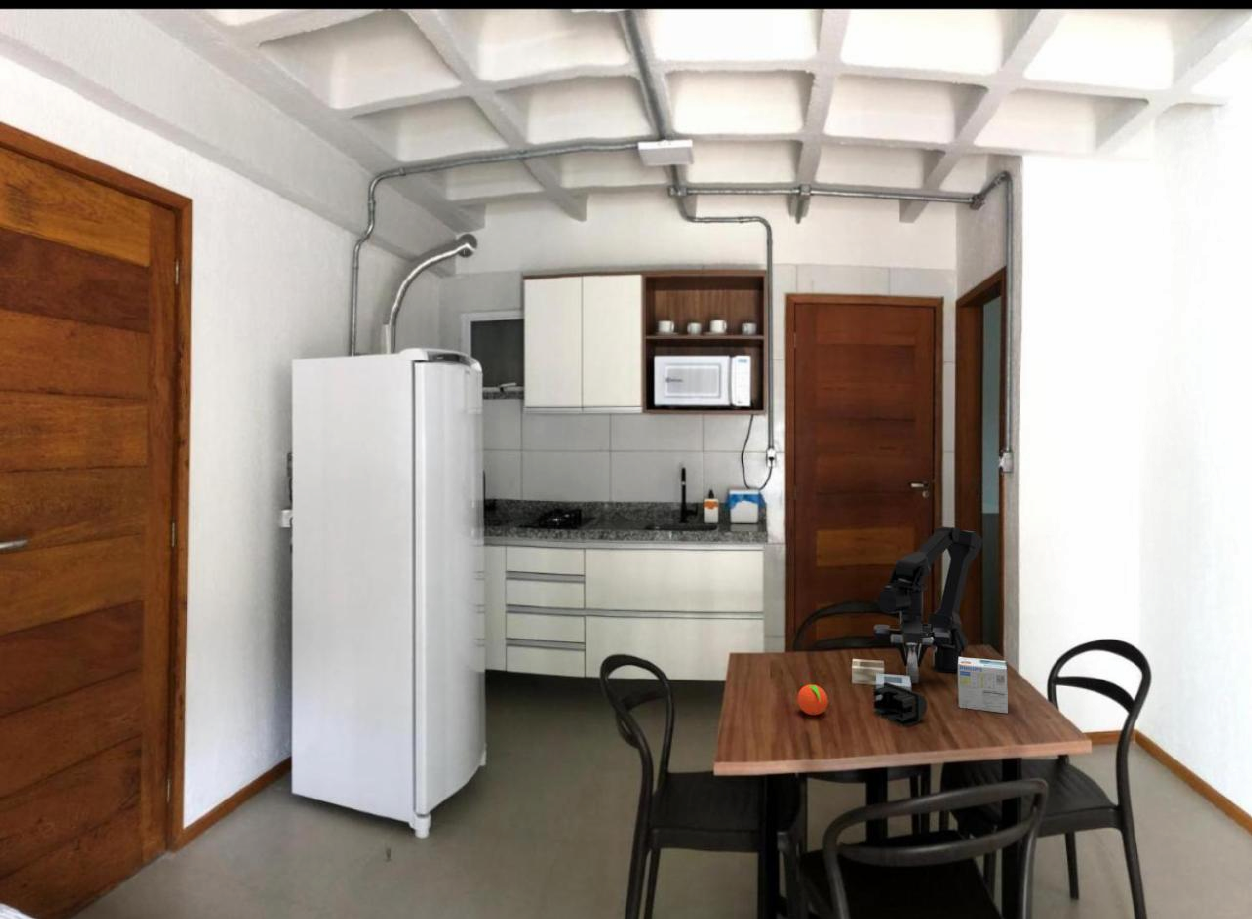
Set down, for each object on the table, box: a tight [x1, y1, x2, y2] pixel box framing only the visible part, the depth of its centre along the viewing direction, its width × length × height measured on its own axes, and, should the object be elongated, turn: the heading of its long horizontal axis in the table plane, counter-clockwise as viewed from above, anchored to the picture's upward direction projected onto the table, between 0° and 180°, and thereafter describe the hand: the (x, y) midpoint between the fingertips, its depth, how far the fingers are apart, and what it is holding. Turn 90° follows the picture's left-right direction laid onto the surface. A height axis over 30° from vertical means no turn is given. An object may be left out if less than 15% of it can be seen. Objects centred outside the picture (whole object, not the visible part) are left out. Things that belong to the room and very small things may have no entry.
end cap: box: [872, 682, 928, 727], centre depth 168 cm, size 10×7×7 cm
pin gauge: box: [905, 642, 919, 684], centre depth 191 cm, size 3×3×10 cm
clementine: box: [797, 684, 829, 716], centre depth 170 cm, size 8×7×7 cm
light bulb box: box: [957, 656, 1009, 714], centre depth 173 cm, size 11×7×11 cm, turn 65°
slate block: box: [875, 673, 912, 701], centre depth 181 cm, size 8×8×4 cm
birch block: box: [851, 658, 885, 686], centre depth 194 cm, size 8×8×4 cm
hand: (912, 666), depth 191 cm, fingers closed on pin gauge, 3 cm apart
